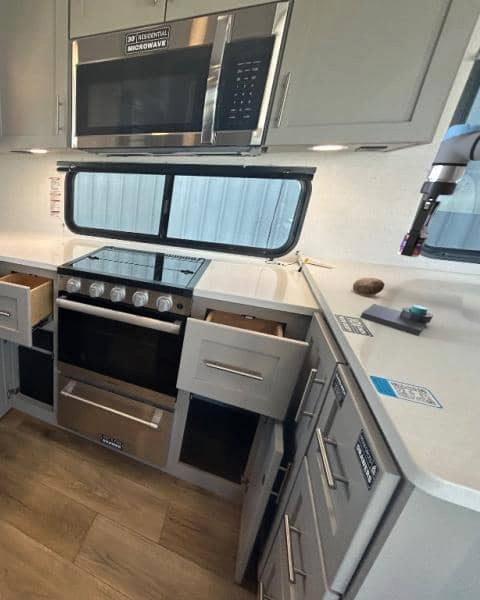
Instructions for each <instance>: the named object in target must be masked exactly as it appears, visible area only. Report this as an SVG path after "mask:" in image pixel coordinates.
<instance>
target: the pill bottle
mask: <svg viewBox="0 0 480 600" xmlns="http://www.w3.org/2000/svg"><path fill="white" fill-rule="evenodd" d="M429 229H430V226H429V227H426V226H425V227H424V229H423V231H422V233H421V236H420V237H421V238H420V240H419V242H418V244H417V246H416V248H415V250H414V253H413V255H412V257H410V256H408V257H410V258H418V257H420V255H421V253H422V251H423V250H424V249H423V248H424V247H425V245H426V242H427V240H428V239H429V234H428V235H427V234H426V233H428V231H429ZM409 232H410V231H407V232H406V233H405V235H404V237H403V239H402V242H401V244H400V246H399V247H398V250H397V254H398V255H399V256H400V255H401V252H402V250H403V248H404V246H405V243H406V241H407V239H408V237H409V235H406V234H407V233H409ZM401 256H402V255H401ZM403 257H406V256H405V255H403Z"/></svg>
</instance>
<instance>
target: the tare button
mask: <svg viewBox="0 0 480 600" xmlns="http://www.w3.org/2000/svg"><path fill="white" fill-rule="evenodd" d="M410 308H411V310H410V311H411V312H413V313H417V314H421V315H425V314H426V312H428V310H429V308H427V307H425V306H423V305H417V304H413V305H412V307H410Z"/></svg>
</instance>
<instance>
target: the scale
mask: <svg viewBox="0 0 480 600" xmlns="http://www.w3.org/2000/svg"><path fill="white" fill-rule="evenodd" d="M411 308H412V307H403V308H402V310H401V311H400V310H397V309H393V308H390V307H387V306H383V305H380V304H377V303H372V305H370V306H369V307H368V308H366V309H365V310H364V311H362V313H361V314H360V319H363V320H366V321H368V322H373V323H375V324H377V325H378V324H379V325H382V326H385V327H388V328H392V329H394V330H398V331H401V332H404V333H407V334H410V335H413V336H416V337H418V336H419V335H420V334H421V332H422V331H423V330H424V328H426V325H427V324H429V323H430V322H431V321H432V319H433V317H434V315H433V314H432V313H430V312H429V311H427V312H426V314H425V315H421V314H417V313H413V312H411V311H410V310H411Z"/></svg>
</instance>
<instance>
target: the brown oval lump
mask: <svg viewBox="0 0 480 600" xmlns="http://www.w3.org/2000/svg"><path fill="white" fill-rule="evenodd" d="M384 288H385V283H384V281H383V280H382V279H379V278H375V277H363V278H359V279H357V280H355V282H354V283H352V290H353V291H354V293H355V294H358V295H360V296H363V297H371V296H375V295H377V294H379V293H381V292H382V291H383V290H384Z"/></svg>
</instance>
